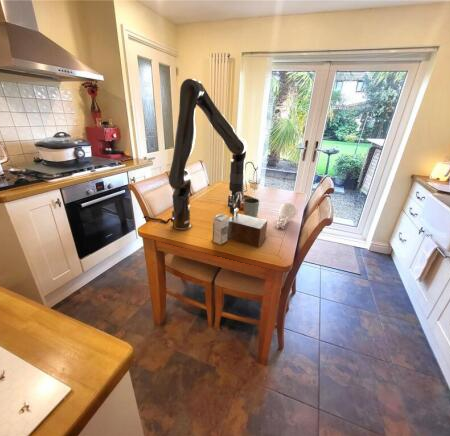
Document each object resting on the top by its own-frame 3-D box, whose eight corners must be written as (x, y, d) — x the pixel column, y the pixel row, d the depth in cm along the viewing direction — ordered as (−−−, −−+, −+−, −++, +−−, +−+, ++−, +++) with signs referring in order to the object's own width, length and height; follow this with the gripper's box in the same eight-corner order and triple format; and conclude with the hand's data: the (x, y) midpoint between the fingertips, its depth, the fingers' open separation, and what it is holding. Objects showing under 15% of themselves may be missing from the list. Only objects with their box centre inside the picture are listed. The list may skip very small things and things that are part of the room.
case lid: (226, 222, 122) (227, 213, 120) (235, 214, 131) (236, 205, 129) (260, 230, 115) (261, 220, 113) (267, 221, 124) (268, 212, 122)
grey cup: (257, 221, 146) (258, 204, 141) (241, 219, 148) (242, 202, 143) (258, 215, 155) (260, 198, 150) (243, 213, 157) (244, 196, 152)
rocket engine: (281, 215, 132) (290, 200, 144) (266, 222, 140) (276, 207, 153) (293, 231, 134) (301, 214, 147) (277, 237, 142) (286, 220, 155)
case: (227, 238, 126) (228, 222, 122) (236, 230, 135) (237, 214, 131) (258, 247, 119) (260, 230, 115) (265, 237, 129) (267, 221, 124)
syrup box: (219, 237, 127) (220, 213, 121) (228, 241, 123) (229, 216, 117) (212, 241, 123) (212, 216, 117) (220, 245, 119) (221, 219, 113)
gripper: (235, 176, 124) (234, 205, 131) (223, 183, 112) (223, 214, 119) (249, 178, 121) (246, 207, 128) (238, 185, 110) (236, 217, 116)
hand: (235, 210), depth 124 cm, fingers open, 8 cm apart
